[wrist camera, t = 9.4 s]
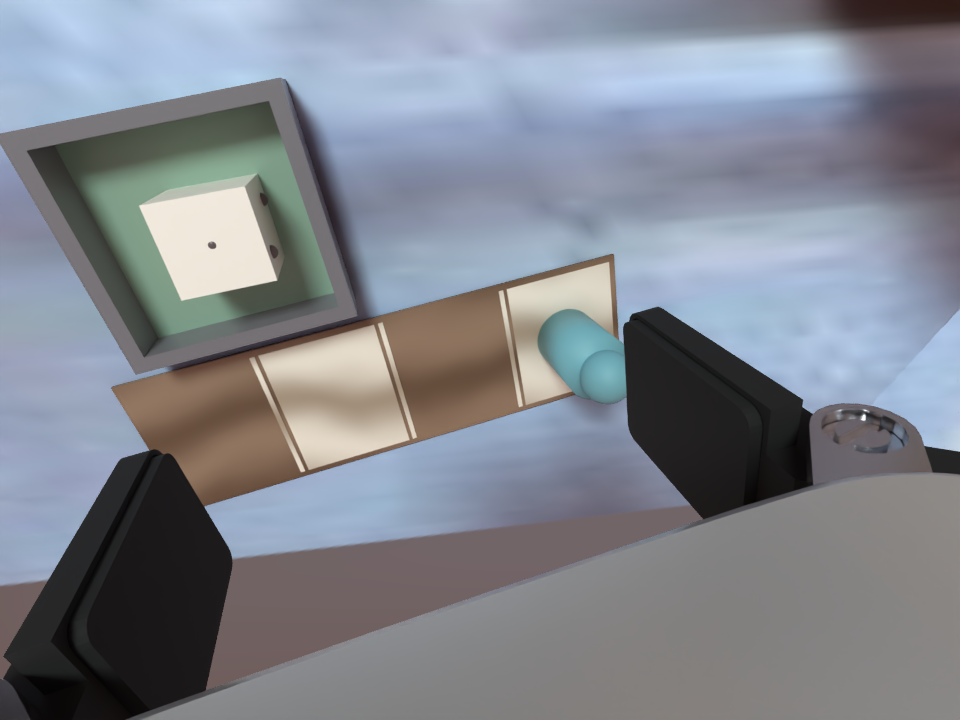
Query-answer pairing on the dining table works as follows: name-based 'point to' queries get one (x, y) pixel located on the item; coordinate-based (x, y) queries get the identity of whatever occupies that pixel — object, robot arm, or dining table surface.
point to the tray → (173, 164)
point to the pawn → (584, 356)
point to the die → (215, 236)
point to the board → (364, 383)
